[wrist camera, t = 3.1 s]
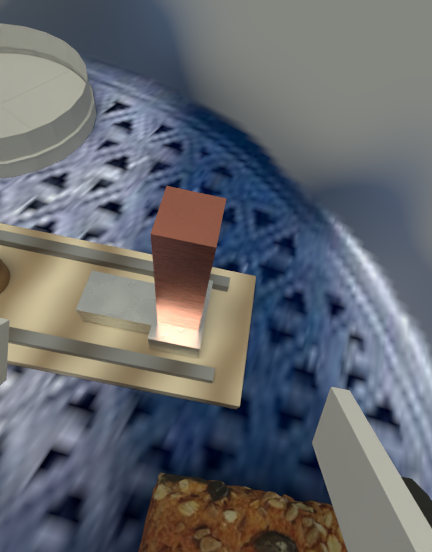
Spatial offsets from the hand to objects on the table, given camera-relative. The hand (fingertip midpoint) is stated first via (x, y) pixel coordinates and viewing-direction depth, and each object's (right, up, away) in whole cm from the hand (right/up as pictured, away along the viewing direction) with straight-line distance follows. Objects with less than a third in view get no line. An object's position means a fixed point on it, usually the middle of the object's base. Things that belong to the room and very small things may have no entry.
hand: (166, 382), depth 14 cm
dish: (-24, +24, +28) cm, 44 cm away
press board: (-10, +1, +17) cm, 20 cm away
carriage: (-4, +1, +15) cm, 16 cm away
